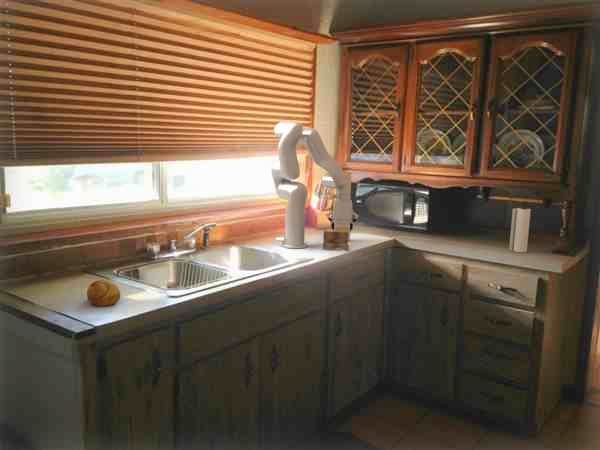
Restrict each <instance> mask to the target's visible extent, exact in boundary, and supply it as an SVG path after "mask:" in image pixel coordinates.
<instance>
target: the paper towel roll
mask: <svg viewBox="0 0 600 450" xmlns="http://www.w3.org/2000/svg"><path fill="white" fill-rule="evenodd" d="M530 219H531V208H525V207H516V208H512V214H511V224H510V235H509V236H510V237H509V246H508V247H509V249H508V251H510V252H511V251H513V252H515V253H521V254H522V253H523V254H524V253H527V252H528V251H527V250H528V243H529V242H528V241H529V233H530V232H529V230H530V223H531V222H530Z"/></svg>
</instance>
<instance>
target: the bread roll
mask: <svg viewBox="0 0 600 450" xmlns="http://www.w3.org/2000/svg"><path fill="white" fill-rule="evenodd" d="M86 297H87V299H88V302H89V303H90V304H91V305H93V306H96V307H99V306H101V307H107V306H106V305H108V306H112V304H113V305H115V304H116V303H118V302H119V301H120V298H121V291H120V289H119V287H118V285H116V284H115V283H112V282H111V281H109V280H107V279H98V280H94V281H92V282H91V284H89V286H88V287H87V291H86Z"/></svg>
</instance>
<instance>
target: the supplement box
mask: <svg viewBox="0 0 600 450" xmlns="http://www.w3.org/2000/svg"><path fill="white" fill-rule="evenodd" d="M334 232H348V242H350V237H351V231H350V220H342V219H334Z"/></svg>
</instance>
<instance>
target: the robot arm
mask: <svg viewBox="0 0 600 450" xmlns="http://www.w3.org/2000/svg"><path fill="white" fill-rule="evenodd" d="M273 132H274V135H275V137H276V138H277V139H279V142H278V146H277V155H278V159H277V160H275V161H274V162H273V164H272V165H271V176H272V179H273V185H274V189H275V191H276V194H277V196H278V197H279V198H280V199H282V200H286V201H287V203H286V206H285V211H284V212H285V213H284V215H285V217H284V218H285V221H284V222H285V223H284V224H285V225H284V226H285V227H284V228H285V229H284V236H282V237H277V236H276V237H275V242H280V243H281V242H282V243H281V247H282V248H286V249H297V250H298V249H305V248H307V247H308V243H307V242H305V227H306V226H305V225H306V224H305V223H306V206H307V205H306V203H307V198H308V194H309V193H308V189H307V186H306V185H305V184H304V183H302V182H299V181H295V180H297V179H298V178H299V177H300V175H301V168H300V163H299V159H298V156H297V155H298V154H297V146H304V147H305V148H306V150H307V152H308V154H309V156H310V158H311V160H312V162H313V163H314V164H316V165H317V166H319V167H320V168H322V169H324V170H325V171H326V172H327V173H325V174H323V175H322V176H321V178H320V183H321V185H322V186H323V187H325V188H327V189H335V194H333V195H332V198H334V200H333V206H332V210H331V211H330V212H328V213H326V214H325V215H326V216H325V217H327V220H328V221H330V223H331V230H332V231H334V219H342V220H350V232H352V230H353V229H354V227H353V226H354V223H355V222H356V221H357V220H358V219H359V217H360V216H359V214H357V213H356V212H355V211H353V201H352V199H351V192H352V190H351V188H352V175H351V173H347V172H346V173H345V172H344V170H343V168H342V166H341V165H340V163H338V162H337V160H336V159H334V157H333V156H332V155H331V154H329V152H328V149H327V148H326V146H325V144H324V142H323V139H322V138H321V136H320V133H319V131H318V130H317V129H315V128H312V127H303V125H302V124H301V123H300V122H298V121H281V122H280V121H279V122H278V123H276V125H275V126H274V131H273ZM331 216H332V218H331ZM353 216H355V217H354V218H353Z"/></svg>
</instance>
